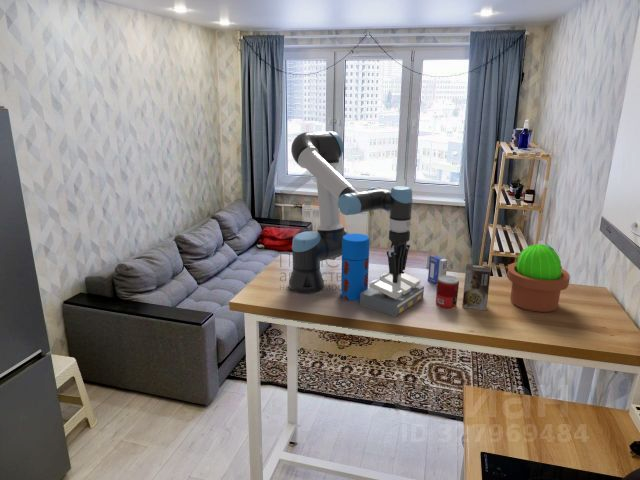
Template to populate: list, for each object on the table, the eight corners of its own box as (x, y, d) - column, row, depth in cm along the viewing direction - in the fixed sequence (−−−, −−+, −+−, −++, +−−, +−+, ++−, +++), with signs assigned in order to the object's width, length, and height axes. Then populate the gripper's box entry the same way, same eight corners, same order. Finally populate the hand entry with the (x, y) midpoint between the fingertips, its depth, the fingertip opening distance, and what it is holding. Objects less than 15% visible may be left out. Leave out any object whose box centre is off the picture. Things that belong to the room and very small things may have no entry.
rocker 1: (369, 287, 180) (370, 281, 179) (375, 283, 183) (376, 278, 182) (395, 299, 173) (396, 293, 172) (401, 295, 176) (402, 289, 176)
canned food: (457, 309, 179) (459, 283, 175) (435, 307, 180) (438, 281, 177) (455, 301, 186) (458, 276, 183) (435, 299, 187) (437, 274, 184)
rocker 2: (379, 279, 185) (380, 274, 184) (385, 276, 188) (386, 271, 187) (404, 294, 179) (406, 289, 178) (410, 291, 182) (411, 286, 181)
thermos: (335, 295, 191) (336, 237, 184) (352, 287, 199) (353, 231, 191) (356, 303, 184) (358, 243, 177) (372, 295, 192) (375, 237, 184)
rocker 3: (388, 276, 190) (389, 271, 189) (394, 273, 193) (395, 268, 193) (413, 287, 184) (415, 282, 183) (419, 284, 187) (420, 279, 186)
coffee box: (486, 304, 184) (491, 266, 179) (486, 311, 178) (491, 271, 173) (462, 301, 186) (466, 263, 182) (461, 307, 181) (465, 269, 176)
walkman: (427, 280, 207) (429, 255, 203) (432, 279, 208) (434, 254, 204) (440, 286, 200) (443, 260, 197) (445, 285, 202) (447, 259, 198)
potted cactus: (504, 310, 179) (512, 248, 171) (503, 288, 198) (511, 232, 191) (567, 319, 172) (579, 255, 164) (560, 296, 191) (570, 238, 184)
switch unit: (359, 304, 183) (360, 289, 181) (389, 287, 199) (390, 273, 197) (395, 316, 173) (396, 300, 171) (423, 297, 189) (424, 282, 187)
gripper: (399, 235, 161) (395, 298, 168) (417, 227, 170) (413, 287, 177) (381, 231, 165) (378, 292, 172) (399, 224, 175) (396, 282, 182)
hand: (396, 289), depth 175 cm, fingers closed
